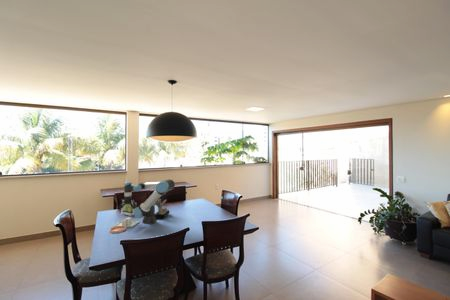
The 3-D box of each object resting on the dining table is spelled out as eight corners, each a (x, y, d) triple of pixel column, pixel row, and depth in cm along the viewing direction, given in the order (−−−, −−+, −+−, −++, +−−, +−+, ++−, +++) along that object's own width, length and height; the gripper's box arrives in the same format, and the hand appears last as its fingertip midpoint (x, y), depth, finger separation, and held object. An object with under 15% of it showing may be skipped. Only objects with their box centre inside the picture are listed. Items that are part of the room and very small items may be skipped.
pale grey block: (127, 224, 231) (127, 219, 231) (125, 226, 226) (125, 220, 226) (123, 224, 231) (123, 219, 231) (121, 226, 226) (121, 220, 226)
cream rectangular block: (130, 222, 238) (130, 217, 238) (129, 224, 233) (129, 218, 233) (127, 222, 238) (127, 217, 238) (125, 224, 233) (125, 218, 233)
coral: (163, 219, 251) (163, 201, 251) (146, 219, 252) (146, 201, 252) (169, 213, 276) (169, 196, 276) (154, 212, 277) (154, 196, 277)
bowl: (128, 227, 223) (128, 225, 223) (121, 233, 208) (121, 231, 208) (115, 227, 224) (115, 225, 224) (106, 232, 209) (106, 230, 209)
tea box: (122, 214, 270) (122, 203, 270) (128, 212, 279) (128, 201, 279) (130, 216, 264) (130, 204, 264) (136, 213, 273) (136, 202, 273)
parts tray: (138, 222, 239) (138, 221, 239) (132, 227, 224) (132, 226, 224) (121, 222, 240) (121, 221, 240) (113, 227, 225) (113, 225, 225)
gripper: (140, 195, 239) (140, 213, 239) (119, 194, 240) (118, 213, 240) (137, 196, 231) (137, 215, 231) (115, 196, 233) (115, 215, 232)
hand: (127, 214), depth 236 cm, fingers open, 13 cm apart
